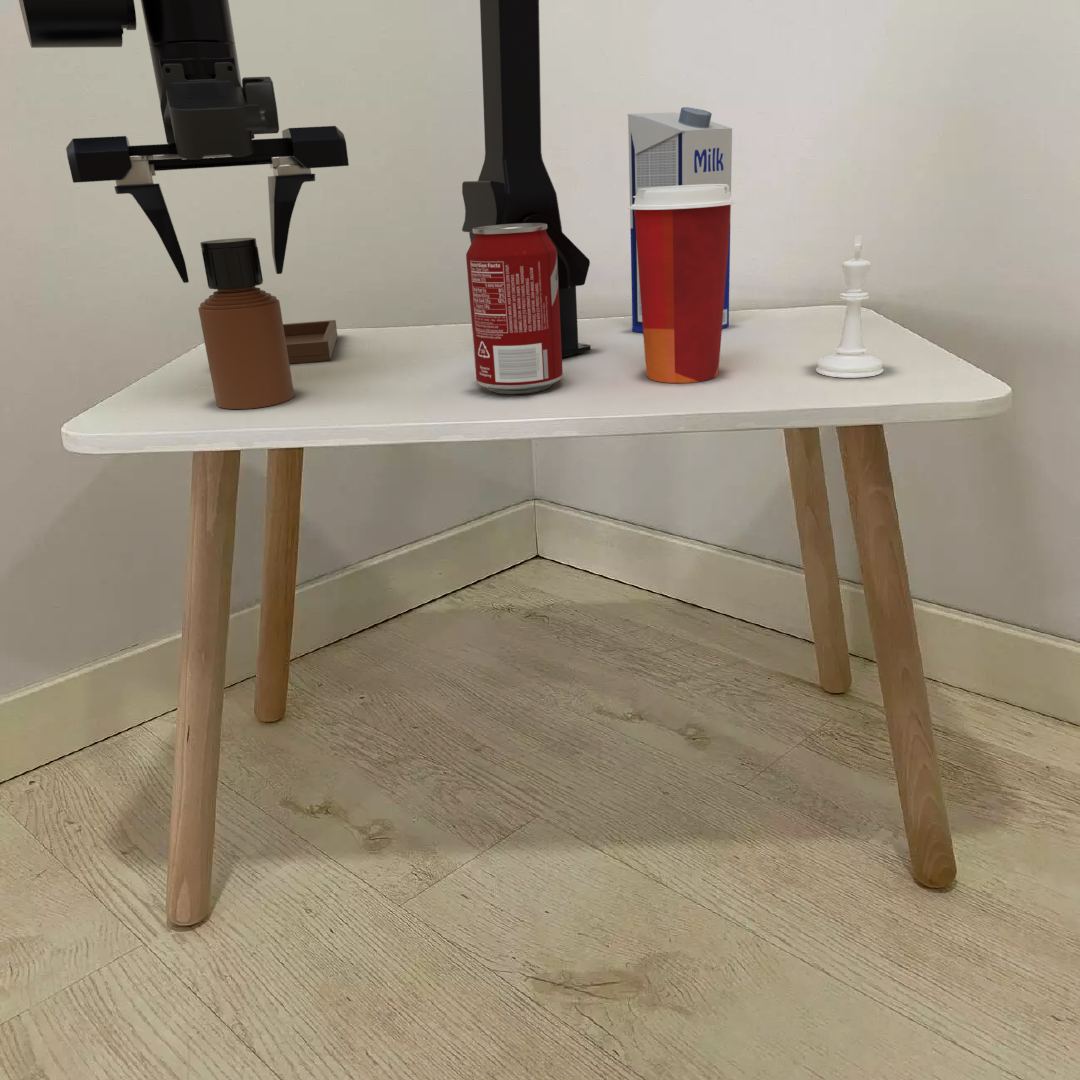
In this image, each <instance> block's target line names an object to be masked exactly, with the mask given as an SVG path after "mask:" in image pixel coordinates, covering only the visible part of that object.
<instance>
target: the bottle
mask: <svg viewBox="0 0 1080 1080" xmlns="http://www.w3.org/2000/svg"><path fill="white" fill-rule="evenodd" d="M277 298H278V297H277V296H276V295H273V294H271V293H270V292H267V291H266V290H264V289H261V287H256V286H252V287H245V288H235V289H216V291H213V293H212V294H210V295H209V296H208V298H205V299H204V301H202V302H201V303H200V304H199V306H198V309H197V310H198V315H199V319H200V320H199V321H200V326H201V330H202V336H203V341H204V347H205V352H206V358H207V362H208V368H209V374H210V380H211V384H212V389H213V393H214V394H213V395H214V400H215V404H216V407H218V408H221V409H227V410H251V409H260V408H265V407H270V406H271V407H272V406H275V405H280V404H283V403H285V402H288V401H290V400H291V399H293V398H294V396H295V391H294V385H293V380H292V374H291V366H290V364H289V359H288V353H287V346H286V340H285V334H284V327H283V324H284V322H283V315H282V307H281V303H280V299H277Z"/></svg>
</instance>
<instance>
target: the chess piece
mask: <svg viewBox="0 0 1080 1080" xmlns="http://www.w3.org/2000/svg"><path fill="white" fill-rule="evenodd" d="M862 240H863V235H862V234H855V235H854V245H853V258H850V259H849V260H846V261H843V262H842V264H841V265H842V266H841V267H842V270H843V274H844V278H845V283H846V286H847V289H846V291H845V292H841V293H840V295H839V299H840V300H842V301H847V303H846V309H845V316H844V322H843V327H842V332H841V337H840V342H839V345H838V347H835V349H834V350H835V352H836V353H833V354H828V355H826V356H824V357H821V358H820V359H818V361H817V367H816V369H815V371H816V372H817V374H820V375H823V376H826V377H834V378H841V379H842V378H845V379H847V378H848V379H851V378H852V379H855V378H856V379H857V378H858V379H859V378H869V377H875V376H878V375H880V374H883V373H884V368H883V364H884V362H883V360H882V359H880V357H877V356H874V355H872V354H868V353H865V352H867V350H868V349H867V348H866V347H864V344H863V343H864V342H863V331H862V330H863V328H862V309H861V307H862V306H861V302H862V301H865V300H868V299H870V296H869V295H870V294H869V293H868V292H866V291H864V290H863V286H864V284H865V282H866V278H867V275H868V273H869V271H870V269H871V265H872V263H871V262H870V261H869V260H866V259H864V258H862V257H861V255H862V249H863V248H862V247H863V241H862Z"/></svg>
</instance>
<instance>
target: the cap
mask: <svg viewBox="0 0 1080 1080" xmlns="http://www.w3.org/2000/svg"><path fill="white" fill-rule="evenodd" d="M200 248H201V255H202V260H203V267H204V272H205V277H206V281H207V287H208V289H210V290H217V289H235V288H245V287H252V286H255V287H256V286H261V285H263V283H264V278H263V272H262V265H261V261H260V254H259V248H258V244H257V239H256V238H255V237H234V238H233V237H232V238H221V239H211V240H204V241H201V242H200Z"/></svg>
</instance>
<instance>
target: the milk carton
mask: <svg viewBox="0 0 1080 1080" xmlns="http://www.w3.org/2000/svg"><path fill="white" fill-rule="evenodd" d="M711 119H712V112H710V111H708V110H704V109H700V108H695V107H688V106H686V107H681V108H680V112H647V113H646V112H645V113H644V112H641V113H627V123H628V125H627V127H628V130H627V132H628V175H629V177H628V179H629V180H628V181H629V183H628V184H629V207H631V205H633V204H634V202H635V198H633V196H636V195H637V192H638V189H641V188H651V187H664V186H680V185H700V184H728V186H729V191H730V194H731V195H732V166H733V165H732V161H733V160H732V159H733V157H732V156H733V154H732V153H733V129H734V128H733V127H730V126H726V125H724V124H721V123H718V122H715V121H712V120H711ZM731 216H732V211H731V212H730V223H731V221H732V220H731V218H732V217H731ZM629 224H630V225H629V226H630V228H629V231H630V232H629V233H630V274H631V275H630V278H631V279H630V280H631V282H630V283H631V320H632V321H631V329H632V332H633V333H641V334H643V324H642V310H641V296H640V282H639V268H638V253H637V239H636V225H635V211H634V209H629ZM730 265H731V229H730V230H729V248H728V259H727V271H726V282H725V294H724V307H723V321H722V329H725V328H729V327H730V326H729V325H730V277H731V276H730V273H731V271H730V270H731V269H730V268H731V266H730Z"/></svg>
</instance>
